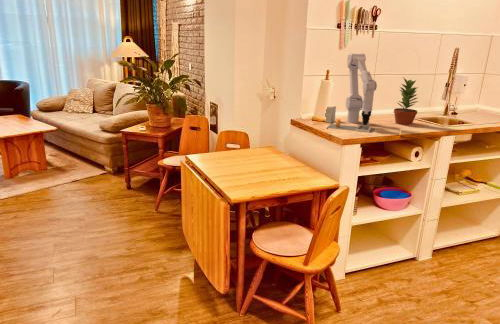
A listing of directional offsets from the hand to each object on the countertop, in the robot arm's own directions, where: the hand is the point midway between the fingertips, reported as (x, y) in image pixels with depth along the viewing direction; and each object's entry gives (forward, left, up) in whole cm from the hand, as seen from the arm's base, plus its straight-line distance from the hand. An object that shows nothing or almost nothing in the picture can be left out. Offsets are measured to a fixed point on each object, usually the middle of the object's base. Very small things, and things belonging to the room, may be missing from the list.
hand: (365, 123), depth 236 cm
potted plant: (-31, +22, -4) cm, 38 cm away
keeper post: (+6, -16, -3) cm, 17 cm away
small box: (-12, -26, -4) cm, 28 cm away
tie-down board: (+5, -8, -3) cm, 10 cm away
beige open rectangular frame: (+6, 0, -2) cm, 6 cm away
